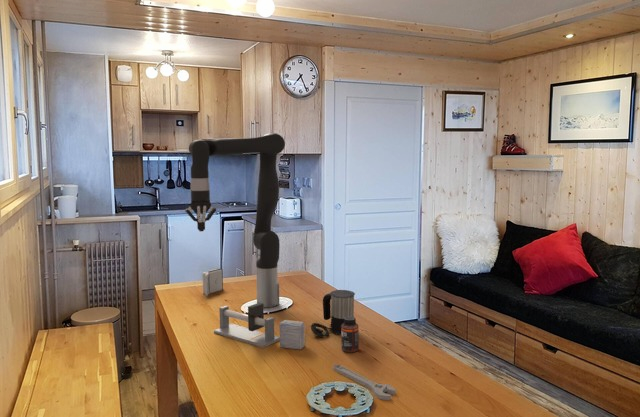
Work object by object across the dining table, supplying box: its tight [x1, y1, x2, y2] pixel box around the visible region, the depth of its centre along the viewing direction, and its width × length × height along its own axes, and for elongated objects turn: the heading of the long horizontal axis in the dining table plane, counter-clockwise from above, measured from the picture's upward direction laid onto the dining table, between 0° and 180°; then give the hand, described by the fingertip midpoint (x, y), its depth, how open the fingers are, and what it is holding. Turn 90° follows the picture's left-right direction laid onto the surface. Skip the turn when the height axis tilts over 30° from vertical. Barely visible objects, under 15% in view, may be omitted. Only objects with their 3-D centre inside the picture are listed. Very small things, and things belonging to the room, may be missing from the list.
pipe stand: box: [213, 305, 280, 349], centre depth 188 cm, size 25×9×9 cm, turn 54°
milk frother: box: [310, 289, 356, 338], centre depth 191 cm, size 14×16×15 cm
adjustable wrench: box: [332, 364, 396, 401], centre depth 152 cm, size 25×6×2 cm, turn 34°
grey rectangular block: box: [202, 268, 224, 297], centre depth 246 cm, size 14×5×10 cm, turn 154°
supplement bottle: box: [340, 316, 360, 353], centre depth 175 cm, size 6×6×11 cm
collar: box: [247, 302, 265, 332], centre depth 185 cm, size 2×6×9 cm, turn 144°
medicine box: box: [279, 319, 306, 351], centre depth 178 cm, size 8×4×9 cm, turn 71°
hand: (201, 231), depth 211 cm, fingers closed
